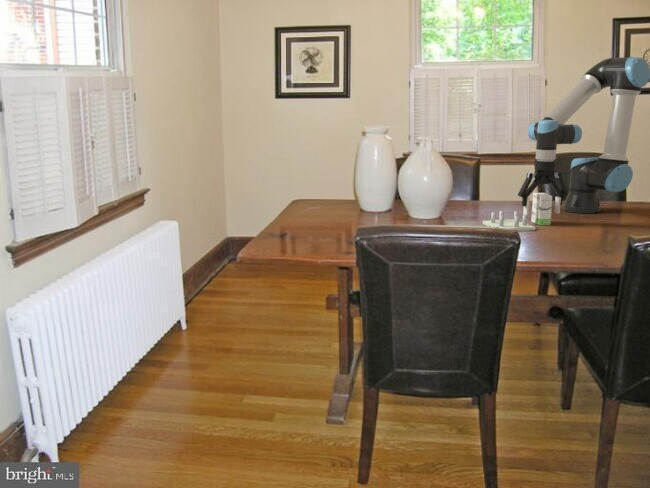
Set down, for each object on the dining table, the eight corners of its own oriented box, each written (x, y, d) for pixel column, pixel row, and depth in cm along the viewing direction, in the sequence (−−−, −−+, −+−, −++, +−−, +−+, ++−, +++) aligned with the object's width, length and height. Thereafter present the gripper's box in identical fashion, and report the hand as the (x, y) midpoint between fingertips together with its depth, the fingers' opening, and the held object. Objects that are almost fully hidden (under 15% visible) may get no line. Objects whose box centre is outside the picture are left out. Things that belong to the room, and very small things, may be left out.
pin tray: (515, 222, 280) (515, 209, 279) (535, 230, 265) (536, 216, 264) (482, 223, 277) (483, 210, 276) (501, 231, 262) (502, 218, 261)
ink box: (551, 225, 275) (553, 195, 272) (538, 225, 274) (541, 195, 272) (542, 221, 283) (544, 192, 280) (530, 221, 282) (532, 192, 280)
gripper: (568, 158, 279) (564, 211, 284) (511, 159, 274) (507, 213, 279) (579, 160, 272) (574, 214, 277) (520, 161, 267) (517, 216, 271)
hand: (541, 214), depth 278 cm, fingers open, 13 cm apart
